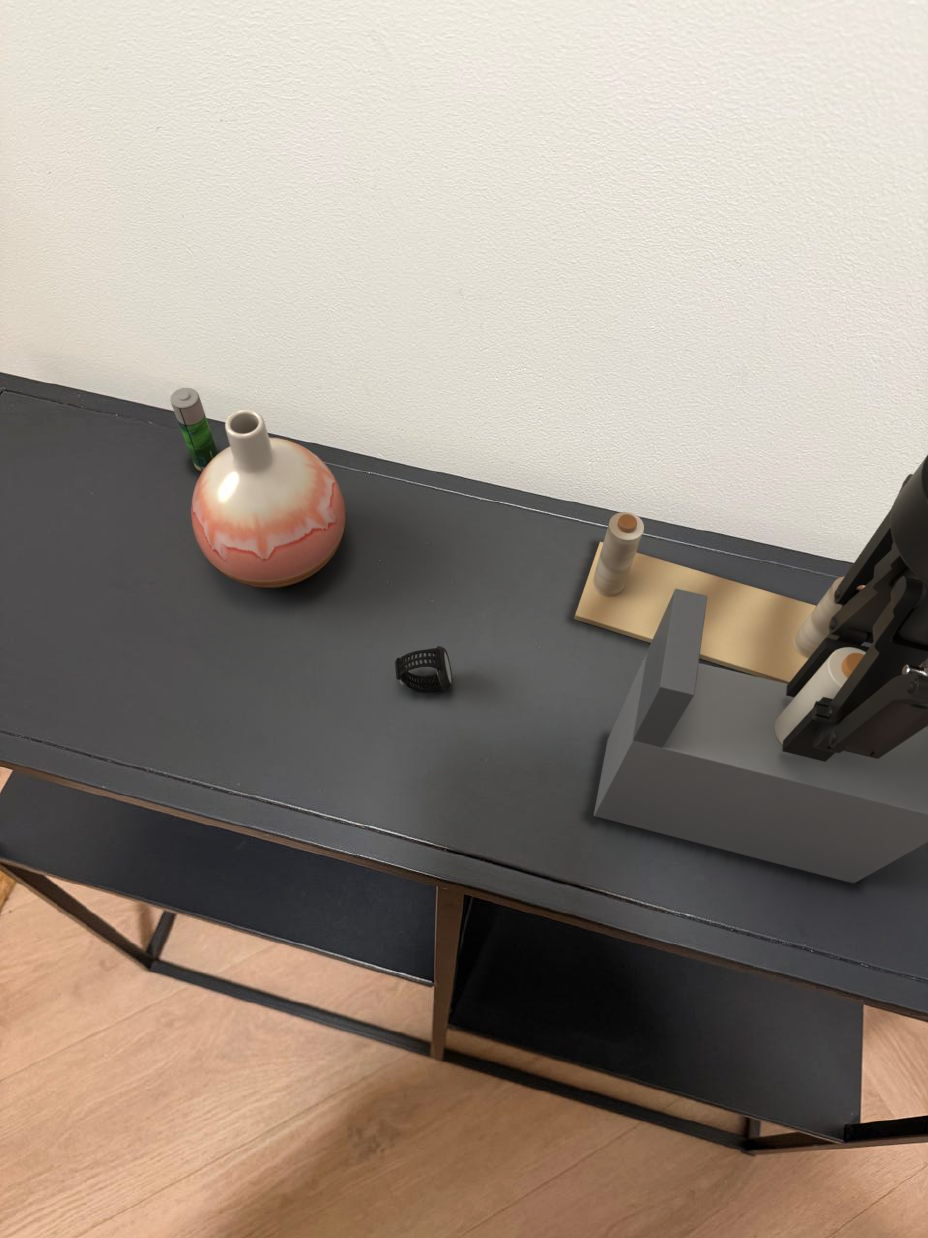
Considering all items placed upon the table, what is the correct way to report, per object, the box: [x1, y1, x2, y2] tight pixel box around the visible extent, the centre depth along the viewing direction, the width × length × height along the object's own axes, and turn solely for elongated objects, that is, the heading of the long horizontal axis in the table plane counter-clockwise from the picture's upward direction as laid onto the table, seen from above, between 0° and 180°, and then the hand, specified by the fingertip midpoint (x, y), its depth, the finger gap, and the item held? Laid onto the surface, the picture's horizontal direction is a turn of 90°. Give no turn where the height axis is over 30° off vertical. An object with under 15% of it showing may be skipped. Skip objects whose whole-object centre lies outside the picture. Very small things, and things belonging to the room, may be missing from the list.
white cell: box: [775, 647, 866, 745], centre depth 51 cm, size 3×3×10 cm
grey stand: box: [593, 589, 928, 884], centre depth 59 cm, size 21×7×24 cm, turn 75°
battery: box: [169, 387, 219, 473], centre depth 83 cm, size 3×3×10 cm
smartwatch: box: [394, 645, 453, 693], centre depth 72 cm, size 4×5×5 cm
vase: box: [190, 409, 347, 589], centre depth 74 cm, size 14×14×18 cm
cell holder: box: [573, 511, 865, 684], centre depth 74 cm, size 23×9×10 cm, turn 70°
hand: (805, 722), depth 54 cm, fingers open, 3 cm apart
